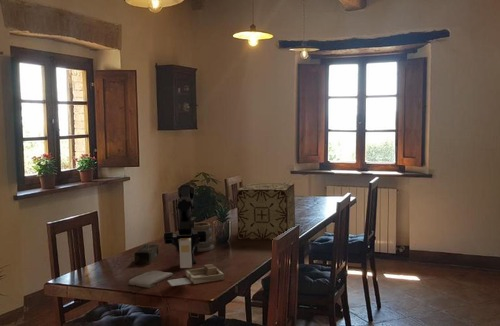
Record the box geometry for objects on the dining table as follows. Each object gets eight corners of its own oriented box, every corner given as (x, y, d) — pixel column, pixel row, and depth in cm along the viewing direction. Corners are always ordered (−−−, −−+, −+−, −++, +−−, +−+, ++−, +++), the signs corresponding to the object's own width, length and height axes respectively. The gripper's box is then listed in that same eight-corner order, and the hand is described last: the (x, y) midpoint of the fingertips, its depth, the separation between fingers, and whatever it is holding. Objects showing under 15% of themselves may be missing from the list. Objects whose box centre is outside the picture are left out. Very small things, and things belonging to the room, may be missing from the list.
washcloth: (174, 277, 236) (174, 271, 236) (149, 289, 220) (149, 282, 220) (154, 274, 241) (153, 268, 241) (128, 286, 226) (128, 279, 225)
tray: (185, 276, 235) (185, 270, 235) (214, 272, 241) (214, 266, 240) (194, 285, 222) (193, 278, 222) (224, 280, 228) (224, 274, 227)
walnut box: (204, 273, 237) (203, 264, 237) (212, 272, 239) (212, 263, 239) (208, 277, 231) (208, 268, 231) (217, 276, 232) (216, 267, 232)
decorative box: (238, 239, 307) (236, 189, 305) (250, 228, 336) (248, 183, 334) (287, 240, 300) (286, 189, 298) (295, 229, 329) (294, 183, 327)
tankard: (217, 249, 284) (216, 222, 283) (196, 252, 278) (195, 225, 276) (201, 242, 301) (200, 217, 300) (181, 245, 295) (180, 220, 293)
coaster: (167, 281, 229) (167, 280, 229) (186, 278, 232) (186, 277, 232) (171, 287, 220) (171, 286, 220) (192, 284, 224) (191, 283, 224)
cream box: (180, 264, 228) (179, 238, 227) (191, 264, 229) (190, 237, 227) (180, 268, 223) (179, 240, 222) (191, 267, 223) (190, 240, 222)
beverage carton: (159, 255, 276) (158, 243, 276) (149, 265, 257) (148, 252, 256) (144, 255, 277) (144, 243, 276) (134, 265, 258) (133, 252, 257)
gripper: (163, 214, 227) (162, 245, 217) (205, 212, 229) (206, 242, 219) (165, 228, 235) (164, 258, 225) (205, 226, 237) (206, 256, 227)
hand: (185, 253), depth 224 cm, fingers closed on cream box, 5 cm apart
